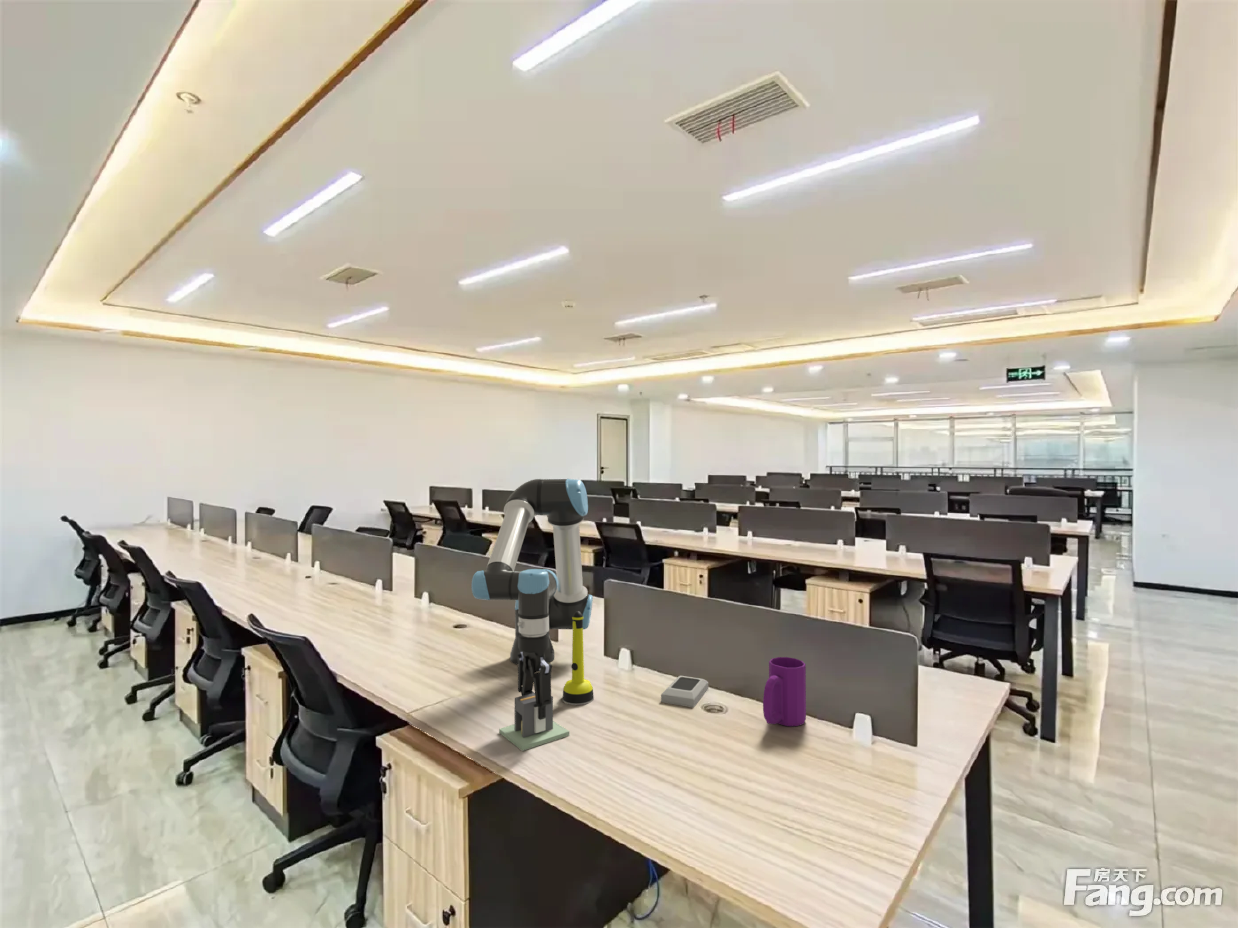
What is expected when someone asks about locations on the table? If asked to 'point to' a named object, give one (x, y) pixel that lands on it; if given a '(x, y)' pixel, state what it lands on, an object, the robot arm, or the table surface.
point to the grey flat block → (685, 691)
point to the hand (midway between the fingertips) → (534, 727)
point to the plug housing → (530, 714)
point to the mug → (785, 692)
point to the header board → (533, 736)
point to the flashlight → (577, 669)
